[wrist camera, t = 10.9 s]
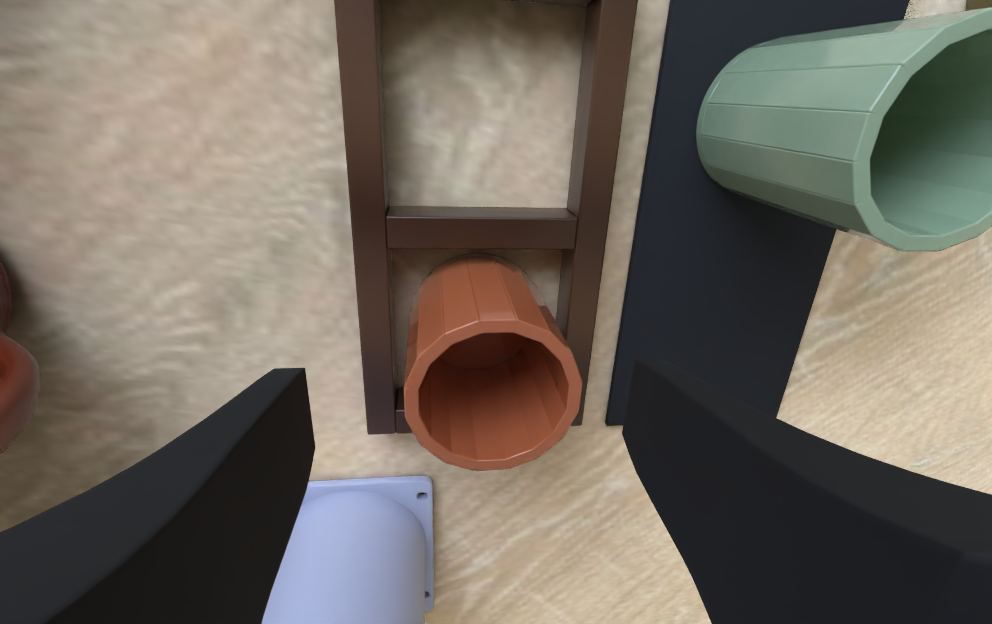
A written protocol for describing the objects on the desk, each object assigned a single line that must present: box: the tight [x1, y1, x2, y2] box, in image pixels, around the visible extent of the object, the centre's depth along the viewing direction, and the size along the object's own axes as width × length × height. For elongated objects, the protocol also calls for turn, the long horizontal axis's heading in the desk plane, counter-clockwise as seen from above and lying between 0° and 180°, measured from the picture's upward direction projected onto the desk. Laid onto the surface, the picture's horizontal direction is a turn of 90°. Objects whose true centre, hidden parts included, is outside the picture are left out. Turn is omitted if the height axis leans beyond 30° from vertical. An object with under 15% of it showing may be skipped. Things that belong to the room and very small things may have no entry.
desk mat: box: [605, 0, 909, 426], centre depth 21 cm, size 20×9×1 cm, turn 178°
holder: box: [334, 0, 638, 435], centre depth 19 cm, size 18×9×2 cm, turn 178°
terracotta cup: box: [404, 254, 582, 471], centre depth 19 cm, size 6×6×6 cm
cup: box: [696, 7, 992, 251], centre depth 16 cm, size 6×6×8 cm
